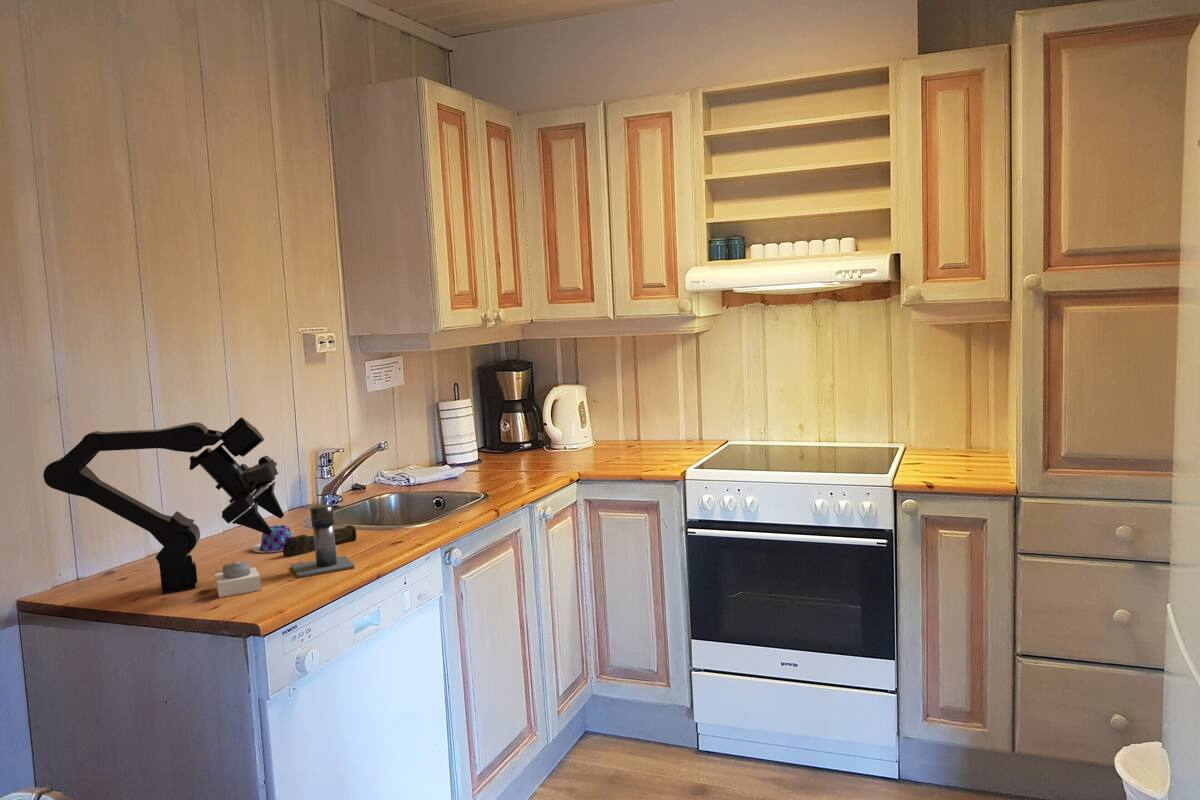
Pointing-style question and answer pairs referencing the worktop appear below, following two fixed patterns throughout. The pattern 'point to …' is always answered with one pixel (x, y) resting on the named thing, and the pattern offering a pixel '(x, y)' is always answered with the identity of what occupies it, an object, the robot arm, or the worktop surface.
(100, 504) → the robot arm
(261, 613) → the worktop surface
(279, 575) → the worktop surface
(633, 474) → the worktop surface
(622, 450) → the worktop surface
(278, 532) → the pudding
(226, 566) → the block
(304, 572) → the rest mat
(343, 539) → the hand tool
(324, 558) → the grey upright cylinder
